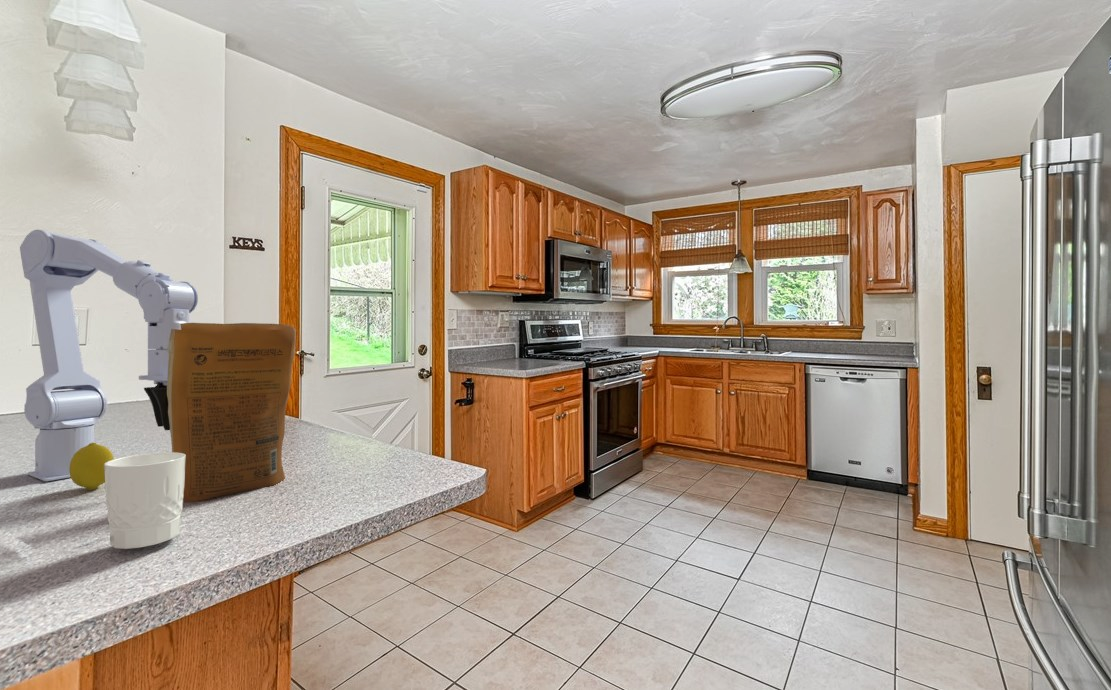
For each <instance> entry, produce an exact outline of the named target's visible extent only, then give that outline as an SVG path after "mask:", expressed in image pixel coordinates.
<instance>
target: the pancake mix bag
mask: <svg viewBox="0 0 1111 690" xmlns="http://www.w3.org/2000/svg"><path fill="white" fill-rule="evenodd" d="M180 325H181V330H178V329H171V334H170V339H169V346H168V351H169V361H168V377H167V397H168V415H169V424H170V430H169V433H170V438H171V452H175V453H183V454H185V455H186V461H185V480H184V492H183V503H197V502H205V501H211V500H214V499H220V498H224V497H229V496H234V495H238V494H241V493H246V492H250V491H255V490H259V489H264V488H271V487H270V486H273V487H275V486H277V485H279V484H281V483H282V482H284V481H285V480H286V476H285V472H284V468H283V461H282V452H283V443H284V437H285V431H286V429H285V425H286V408H287V404H288V399H289V394H290V390H291V380H292V371H293V362H294V358H295V352H296V351H295V350H296V339H297V338H296V335H297V329H296V328H295V327H293V326H291V325H290V324H283V323H262V322H259V323H257V322H239V323H237V322H236V323H215V322H214V323H209V322H207V323H206V322H189V323H180ZM284 479H285V480H284ZM281 481H282V482H281ZM280 482H281V483H280ZM278 483H279V484H278ZM276 484H277V485H276ZM274 485H275V486H274Z"/></svg>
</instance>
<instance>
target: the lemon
mask: <svg viewBox="0 0 1111 690" xmlns="http://www.w3.org/2000/svg"><path fill="white" fill-rule="evenodd" d="M114 459H115V458H114V456H113V453H112V451H111V450H110V449H109V448H108V447H106V446H105V445H101V444H97V443H96V442H94V443H90V444H89V445H88V446H85V447H83V448H81V449H80V450H78V451H77V452H76V453H75V454H74V455H73V457H72V459H71V462H70V467H69V472H70V477H69V478H70V480H71V481H72V482H73V483H74V484H75V485H77V486H79V487H82V488H86V489H87V490H89V491H94V490H96V489H97V488H98V487H100V486H101V485H103V484H105V469H104V464H105V463H106V462H108V461H111V460H114Z"/></svg>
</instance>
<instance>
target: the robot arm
mask: <svg viewBox="0 0 1111 690" xmlns="http://www.w3.org/2000/svg"><path fill="white" fill-rule="evenodd" d="M19 253H20V259H21V266H22V271H23V277H24V278H25V279H26V280H28V281H29V286H30V294H31V300H32V307H33V313H34V319H35V324H36V326H35V327H36V332H37V337H38V338H37V339H38V344H39V352H40V358H41V359H40V360H41V363H42V371H43V372H42V373H43V375H42V376H41V377H39V378H38V379H36V380H34V381H33V382H32V383H31V384H30V385H28V386H27V387H26V388H25V392H26V398H25V403H24V407H23V408H24V415H25V418H26V420H27V421H28V423H30V424H31V425H32V426H33V427H34V428H33V429H36V430H37V429H38V430H39V432H38V434H37V436H36V437H35V443H34V449H35V450H34V471H33V470H32V471H28V472H27V475H28V476H30V477H31V478H36V479H39V480H40V481H43V482H49V481H51V482H52V481H57V480H62V479H68V478H71V477H70V472H69V467H70V462H71V459H72V457H73V455H74V454H75V453H76V452H77V451H78V450H80V449H81V448H83V447H85V446H88V445H89V444H90V443H95V424H99V423H100V422H99V421H100V419H101V418H103V416H104V415H105V414H106V411H107V410H108V398H107V397H106V395H105V393H104V392H103V390H102V387H101V384H100V383H101V382H100V380H99V379H97V378H96V377H95V376H92V375H90V374H89V373H87V372H86V371H84V366H83V360H82V359H83V358H82V353H81V348H80V347H81V345H80V341H79V335H78V327H77V323H76V316H75V310H74V302H73V295H72V289H73V288H75V287H76V286H79V285H82V284H84V283H85V282H86V281H88V280H89V279H90V278H92V276H93V275H95V274H96V273H97V272H98V271H100V272H102V273H104V274H105V275H108V276H110V277H112V281H113V283H114V285H115V286H116V287H117V288H118V289H119V290H122V291H123V292H125V293H126V294H127V295H130V296H132V297H133V298H135V299H136V300H138V304H139V305H140V307H141V309H142V311H143V319H144V321H145V322H146V323H147V374H146V375H145V374H143V375H138V380H140V381H153V385H155V386H147V387H143V390H144V392H145V393H146V395H147V396H148V399H149V400H150V403H151V405H152V406H151V407H152V409H153V412H154V413H153V415H154V418H155V422H156V425H157V427H159V428H160V427H163V429H164V431H170V424H169V415H168V397H167V377H168V361H169V351H168V346H169V339H170V334H171V329H178V330H181V325H180V323H190V314H191V313H192V312H194V311H195V309H196V307H197V305H198V301H199V295H198V292H197V290H196V288H195V287H194V286H193V285H192V284H191V283H190V281H189V282H188V281H176V280H175V281H174V280H173V279H172V278H170V275H169V274H168V273H165V272H159V271H157V270H156V269H155V268H152V267H151V265H152V264H151V263H150V262H148V261H145V260H140V259H139V260H130V261H129V260H128V261H127V260H125V259H124V258H122V257H121V256H119V255H118V254H116V253H115V252H113V251H111V250H110V249H108V246H107V245H106V244H105V243H102V242H100V241H99V240H97V239H91V238H89V239H88V238H82V237H76V236H70V235H65V234H60V233H55V232H51V231H49V232H48V231H46V230H42V229H33V230H31V231H30V232H29V233H28V234H26V235H25V237H24V239H23V241H22V242H21V244H20V246H19Z"/></svg>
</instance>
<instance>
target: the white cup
mask: <svg viewBox="0 0 1111 690" xmlns="http://www.w3.org/2000/svg"><path fill="white" fill-rule="evenodd" d="M185 461H186V455H185V454H183V453H175V452H172V451H170V452H168V451H167V452H151V453H141V454H135V455H128V456H122V457H117V458H114V460H111V461H108V462H106V463H105V464H104V469H105V483H104V484H105V485H104V486H105V498H106V499H105V501H106V502H105V503H106V508H107V509H106V510H107V521H108V524H109V530H108V531H109V545H110V546H111V547H112V548H114V549H120V550H121V549H122V550H123V549H124V550H127V549H128V550H129V549H137V548H144V547H150V546H154V545H157V544H161V543H164V542H167V541H169V540H172V539H174V538H176V537H178V536H179V534H180V532H181V522H182V521H181V520H182V516H181V515H182V512H183V504H184V502H183V492H184V480H185Z"/></svg>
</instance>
